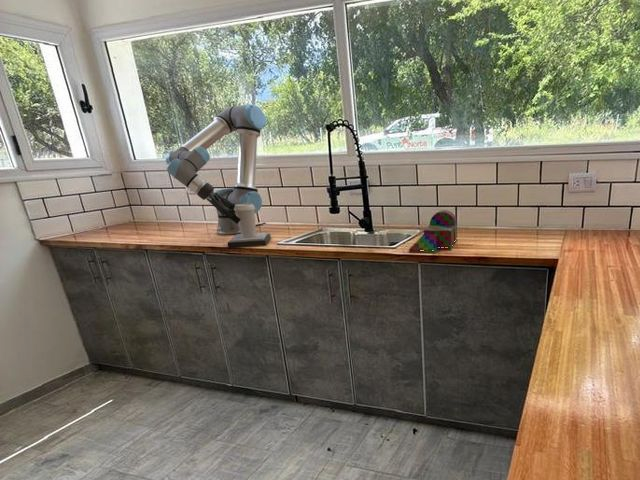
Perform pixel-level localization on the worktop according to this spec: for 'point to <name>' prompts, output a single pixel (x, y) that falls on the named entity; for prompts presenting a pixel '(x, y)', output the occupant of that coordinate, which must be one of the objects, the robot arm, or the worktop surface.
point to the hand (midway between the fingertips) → (241, 219)
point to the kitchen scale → (249, 240)
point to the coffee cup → (246, 219)
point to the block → (437, 234)
